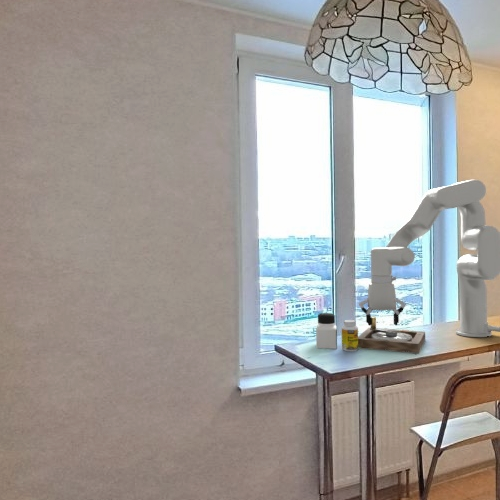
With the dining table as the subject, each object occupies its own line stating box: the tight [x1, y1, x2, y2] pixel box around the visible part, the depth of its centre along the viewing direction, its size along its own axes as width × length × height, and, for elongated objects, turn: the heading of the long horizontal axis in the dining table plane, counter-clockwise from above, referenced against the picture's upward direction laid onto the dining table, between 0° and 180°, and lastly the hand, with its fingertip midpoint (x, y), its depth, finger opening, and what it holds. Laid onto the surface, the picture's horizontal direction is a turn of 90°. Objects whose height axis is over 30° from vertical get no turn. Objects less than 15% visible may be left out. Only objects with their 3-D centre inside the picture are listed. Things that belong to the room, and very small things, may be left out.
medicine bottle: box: [315, 312, 338, 350], centre depth 158 cm, size 7×7×12 cm
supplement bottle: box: [341, 319, 359, 353], centre depth 152 cm, size 6×6×10 cm
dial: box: [369, 316, 412, 342], centre depth 161 cm, size 16×14×7 cm
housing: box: [358, 327, 426, 354], centre depth 160 cm, size 21×21×3 cm
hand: (382, 324), depth 166 cm, fingers open, 9 cm apart
